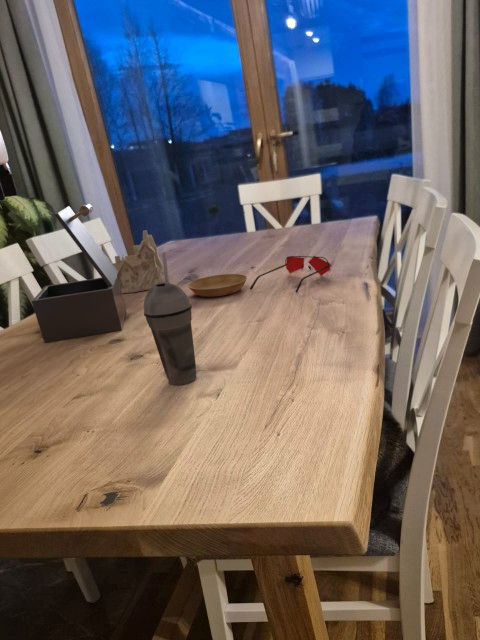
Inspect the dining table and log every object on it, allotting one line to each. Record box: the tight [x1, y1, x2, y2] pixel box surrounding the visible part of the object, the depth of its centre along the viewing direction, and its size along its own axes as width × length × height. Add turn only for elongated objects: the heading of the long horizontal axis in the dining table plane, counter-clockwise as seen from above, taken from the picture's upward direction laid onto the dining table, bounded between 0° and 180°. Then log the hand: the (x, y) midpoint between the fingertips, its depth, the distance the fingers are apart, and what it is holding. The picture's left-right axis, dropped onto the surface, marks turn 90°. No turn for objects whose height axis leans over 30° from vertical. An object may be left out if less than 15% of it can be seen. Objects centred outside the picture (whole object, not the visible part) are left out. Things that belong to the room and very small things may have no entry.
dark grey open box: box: [31, 276, 128, 344], centre depth 125 cm, size 16×14×9 cm
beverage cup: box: [143, 252, 198, 386], centre depth 88 cm, size 7×7×20 cm
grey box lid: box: [54, 203, 118, 287], centre depth 120 cm, size 17×14×5 cm
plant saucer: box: [186, 273, 248, 298], centre depth 143 cm, size 15×15×3 cm
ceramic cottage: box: [112, 230, 170, 295], centre depth 156 cm, size 16×16×15 cm
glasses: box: [249, 255, 332, 294], centre depth 142 cm, size 14×16×5 cm
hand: (3, 198), depth 110 cm, fingers open, 9 cm apart
